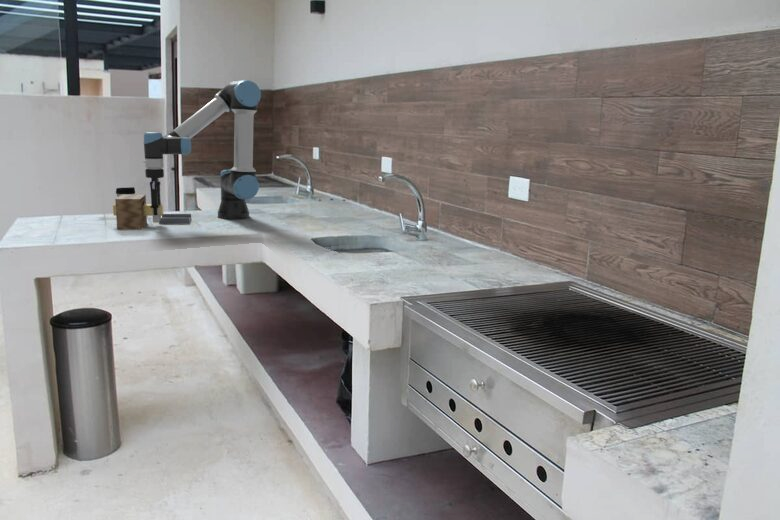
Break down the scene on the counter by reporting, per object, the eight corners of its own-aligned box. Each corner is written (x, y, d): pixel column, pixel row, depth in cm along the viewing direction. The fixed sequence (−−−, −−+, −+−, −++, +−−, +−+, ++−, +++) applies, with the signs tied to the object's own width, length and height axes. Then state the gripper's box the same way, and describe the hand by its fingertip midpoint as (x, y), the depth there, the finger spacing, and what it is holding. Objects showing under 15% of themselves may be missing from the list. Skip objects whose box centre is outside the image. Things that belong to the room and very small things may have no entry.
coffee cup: (132, 221, 297) (130, 188, 294) (114, 220, 297) (112, 188, 294) (139, 218, 306) (138, 186, 302) (121, 218, 306) (120, 186, 302)
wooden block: (147, 223, 294) (145, 194, 291) (141, 229, 279) (140, 199, 276) (123, 223, 292) (121, 194, 289) (117, 229, 277) (115, 199, 274)
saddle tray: (191, 219, 308) (191, 213, 308) (189, 223, 296) (189, 218, 295) (162, 219, 305) (162, 213, 305) (159, 224, 293) (158, 218, 292)
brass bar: (163, 214, 290) (163, 204, 289) (162, 215, 285) (161, 205, 284) (115, 213, 285) (114, 203, 284) (113, 215, 281) (113, 205, 280)
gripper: (148, 166, 290) (150, 218, 295) (142, 170, 273) (145, 224, 278) (165, 166, 292) (168, 218, 297) (161, 170, 275) (163, 224, 280)
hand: (156, 221), depth 287 cm, fingers closed on brass bar, 4 cm apart
